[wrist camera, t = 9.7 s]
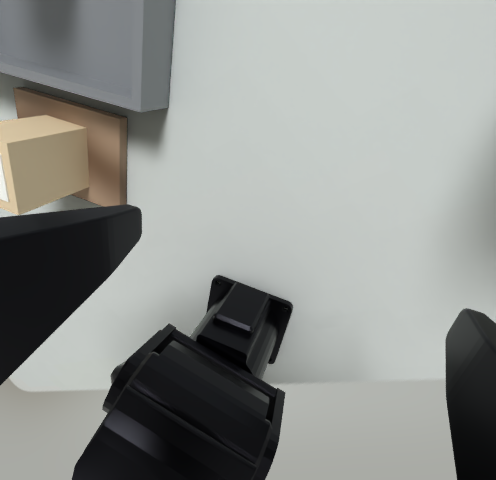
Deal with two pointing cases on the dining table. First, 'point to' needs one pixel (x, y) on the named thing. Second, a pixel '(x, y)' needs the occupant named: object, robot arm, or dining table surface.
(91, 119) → the board
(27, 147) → the carton tan
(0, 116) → the dining table surface
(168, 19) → the bin
